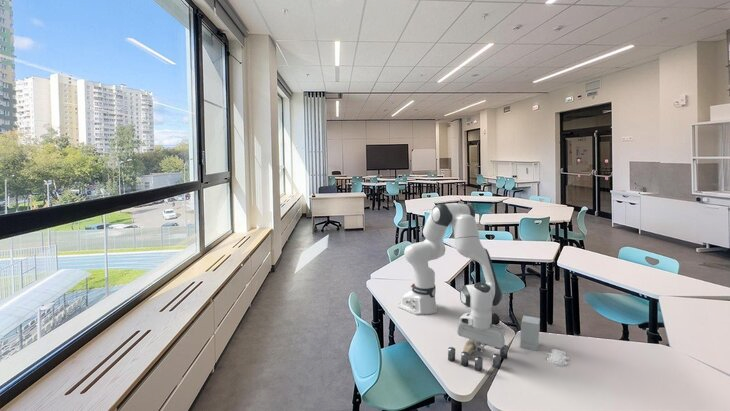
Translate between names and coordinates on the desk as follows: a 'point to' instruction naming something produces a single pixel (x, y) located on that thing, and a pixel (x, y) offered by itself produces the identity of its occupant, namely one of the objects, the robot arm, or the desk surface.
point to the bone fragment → (470, 346)
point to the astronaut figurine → (557, 358)
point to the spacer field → (479, 358)
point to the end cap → (495, 319)
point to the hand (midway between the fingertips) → (479, 350)
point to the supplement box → (529, 332)
